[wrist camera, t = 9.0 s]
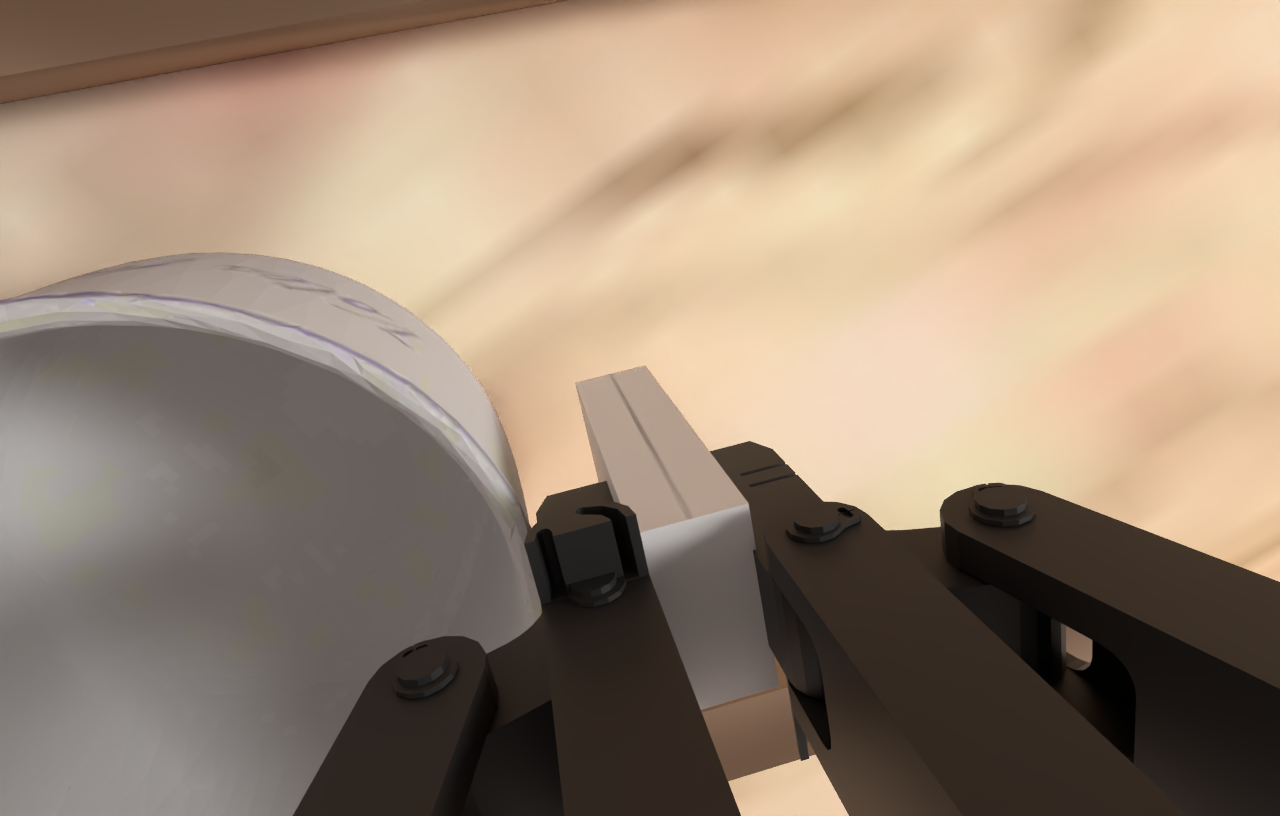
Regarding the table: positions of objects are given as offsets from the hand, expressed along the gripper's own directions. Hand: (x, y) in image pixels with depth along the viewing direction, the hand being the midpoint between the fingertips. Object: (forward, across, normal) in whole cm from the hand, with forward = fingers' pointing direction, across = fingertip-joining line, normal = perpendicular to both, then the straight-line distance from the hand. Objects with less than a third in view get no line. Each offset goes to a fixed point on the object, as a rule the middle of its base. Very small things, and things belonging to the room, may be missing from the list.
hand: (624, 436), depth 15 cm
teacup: (+4, -9, 0) cm, 10 cm away
